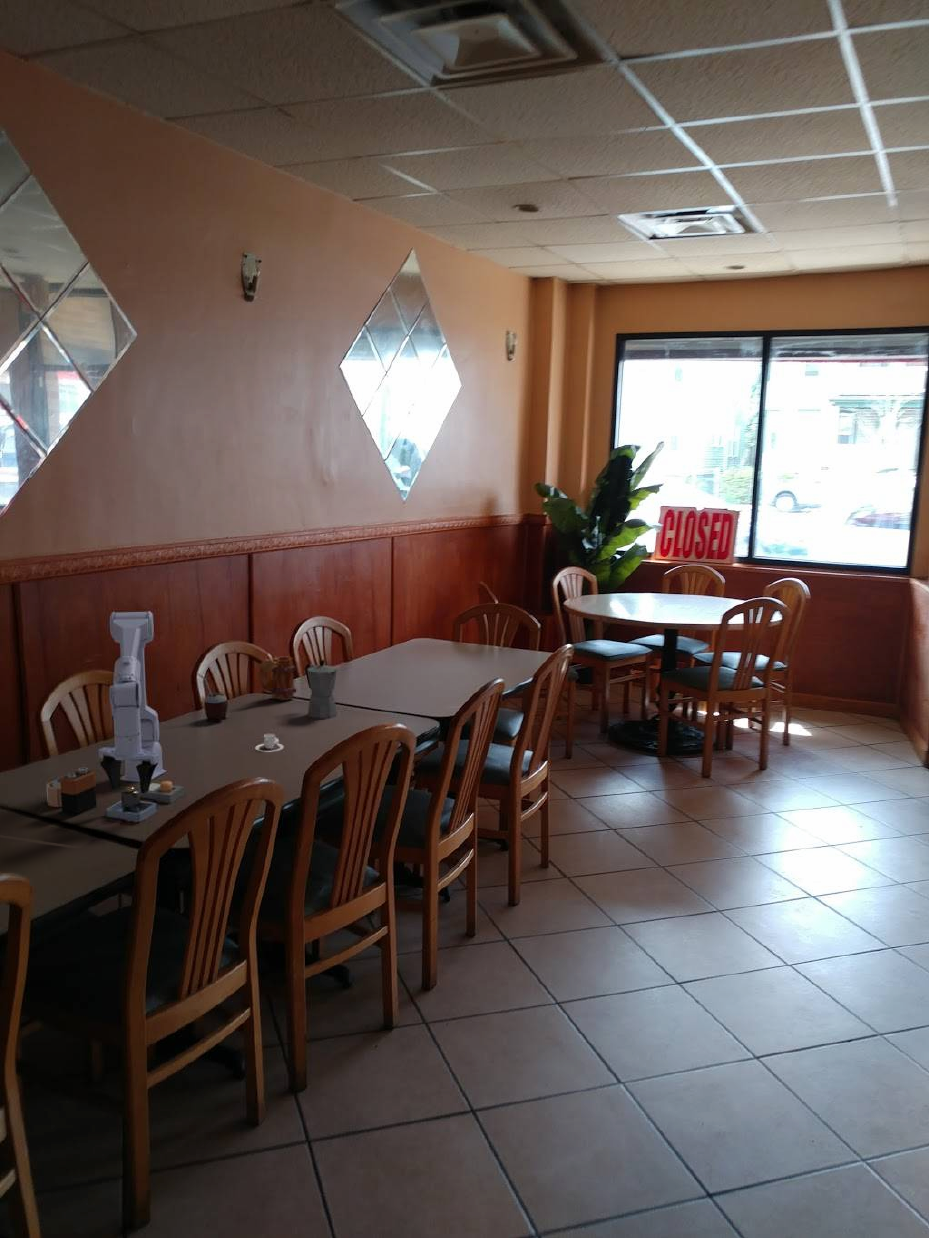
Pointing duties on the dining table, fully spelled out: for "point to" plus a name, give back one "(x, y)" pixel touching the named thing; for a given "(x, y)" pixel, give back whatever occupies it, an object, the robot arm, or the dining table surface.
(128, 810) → the copper top cell
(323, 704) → the coffeepot
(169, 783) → the button
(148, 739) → the robot arm
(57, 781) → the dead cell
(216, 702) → the mate gourd
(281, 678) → the mug
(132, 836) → the dining table surface
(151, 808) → the trough tray
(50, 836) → the dining table surface
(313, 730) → the dining table surface
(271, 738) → the teacup and saucer
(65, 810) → the battery
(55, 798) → the cup
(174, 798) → the base
